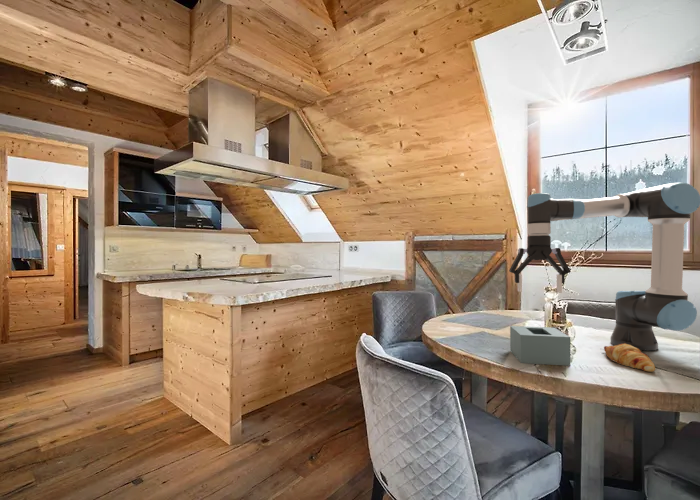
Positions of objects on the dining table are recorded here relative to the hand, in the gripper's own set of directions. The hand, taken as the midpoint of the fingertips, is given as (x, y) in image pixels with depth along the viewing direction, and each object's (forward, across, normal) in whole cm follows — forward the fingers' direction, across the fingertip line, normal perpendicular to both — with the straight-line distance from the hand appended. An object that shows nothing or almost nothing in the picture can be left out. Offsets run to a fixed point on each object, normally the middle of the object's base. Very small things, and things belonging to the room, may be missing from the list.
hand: (539, 292), depth 125 cm
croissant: (+25, -28, +1) cm, 38 cm away
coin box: (+24, +1, +1) cm, 25 cm away
